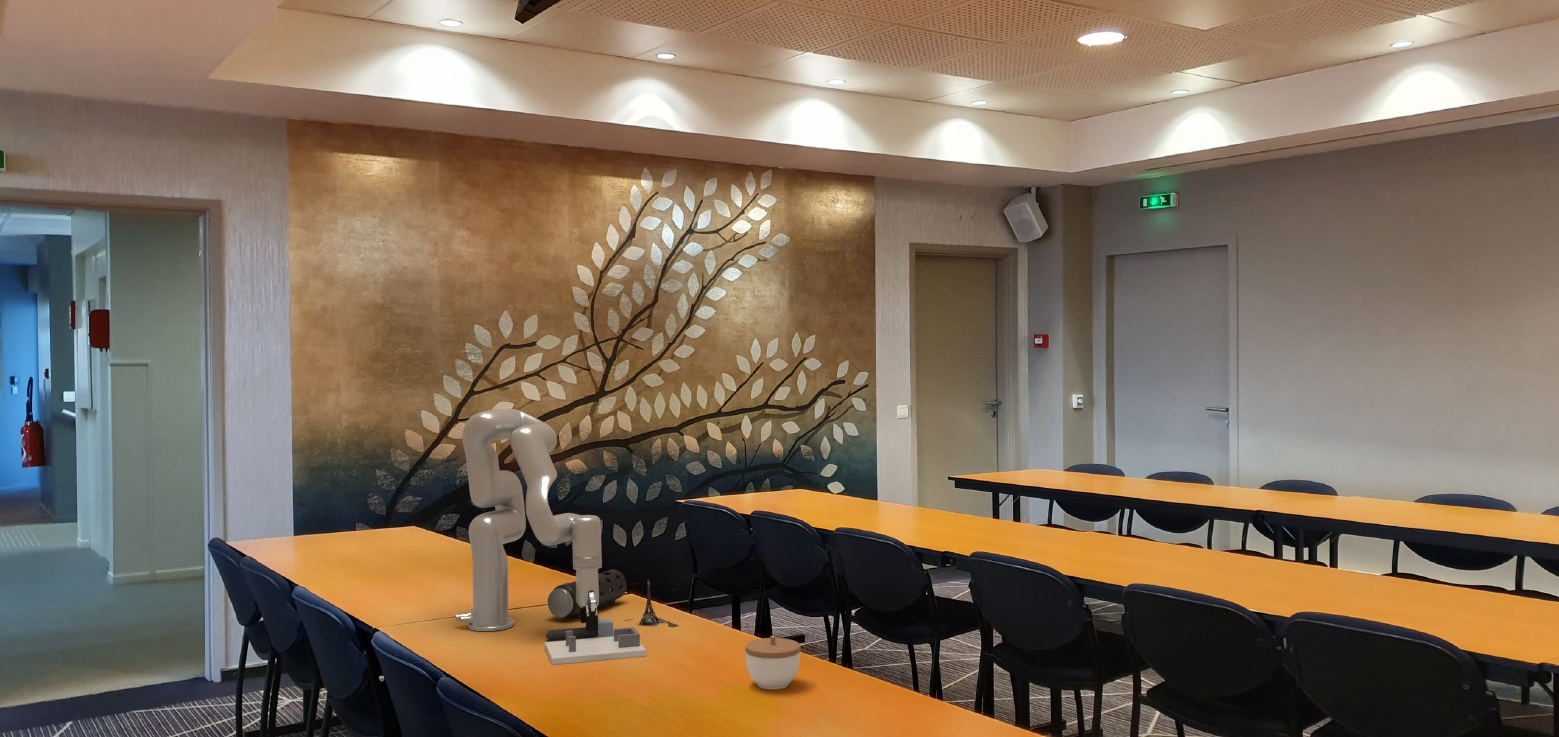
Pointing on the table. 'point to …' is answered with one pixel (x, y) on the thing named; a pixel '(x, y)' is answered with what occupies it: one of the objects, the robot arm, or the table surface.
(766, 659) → the lidded bowl
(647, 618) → the eiffel tower figurine
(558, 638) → the cable
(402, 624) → the table surface
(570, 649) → the cable board
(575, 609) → the muzzle brake
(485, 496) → the robot arm
